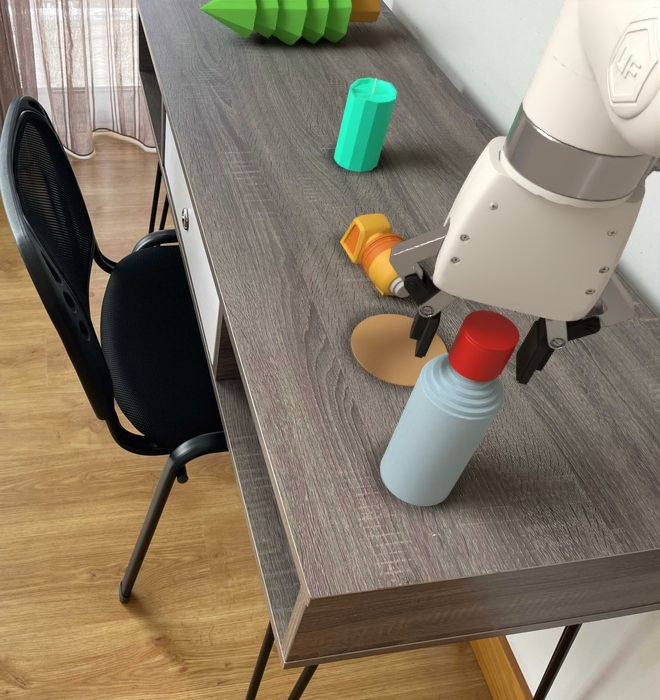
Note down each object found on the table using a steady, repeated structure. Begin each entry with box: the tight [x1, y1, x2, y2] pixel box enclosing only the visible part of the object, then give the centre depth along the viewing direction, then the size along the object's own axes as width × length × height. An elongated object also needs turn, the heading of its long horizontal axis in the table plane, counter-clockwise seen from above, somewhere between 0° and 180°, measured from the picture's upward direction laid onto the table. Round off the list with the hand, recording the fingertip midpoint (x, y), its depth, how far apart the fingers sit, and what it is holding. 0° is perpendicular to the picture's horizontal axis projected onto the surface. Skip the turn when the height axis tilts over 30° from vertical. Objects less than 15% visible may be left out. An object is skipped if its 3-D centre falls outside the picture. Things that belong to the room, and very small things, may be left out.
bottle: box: [379, 352, 505, 507], centre depth 59 cm, size 6×6×18 cm
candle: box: [333, 77, 398, 173], centre depth 95 cm, size 6×6×12 cm
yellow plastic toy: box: [339, 213, 410, 298], centre depth 82 cm, size 5×6×12 cm
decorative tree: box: [198, 0, 381, 46], centre depth 118 cm, size 11×12×30 cm
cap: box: [448, 309, 521, 382], centre depth 53 cm, size 4×4×4 cm
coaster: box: [350, 313, 449, 388], centre depth 76 cm, size 10×10×1 cm
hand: (470, 355), depth 55 cm, fingers open, 6 cm apart
